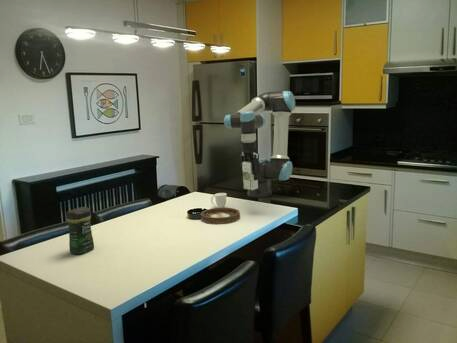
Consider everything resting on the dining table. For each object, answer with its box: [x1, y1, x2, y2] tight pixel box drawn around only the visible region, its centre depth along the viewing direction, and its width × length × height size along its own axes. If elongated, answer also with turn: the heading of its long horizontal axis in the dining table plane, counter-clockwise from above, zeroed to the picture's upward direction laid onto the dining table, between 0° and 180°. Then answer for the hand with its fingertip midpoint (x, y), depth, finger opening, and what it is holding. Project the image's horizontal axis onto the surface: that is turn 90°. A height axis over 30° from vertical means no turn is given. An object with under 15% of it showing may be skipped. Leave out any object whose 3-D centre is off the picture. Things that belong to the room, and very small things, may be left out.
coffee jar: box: [66, 206, 95, 255], centre depth 169 cm, size 10×8×19 cm
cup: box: [210, 192, 227, 208], centre depth 230 cm, size 7×10×8 cm
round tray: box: [200, 207, 241, 225], centre depth 209 cm, size 20×20×3 cm
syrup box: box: [241, 161, 258, 190], centre depth 213 cm, size 6×6×14 cm
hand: (250, 185), depth 214 cm, fingers closed on syrup box, 6 cm apart
